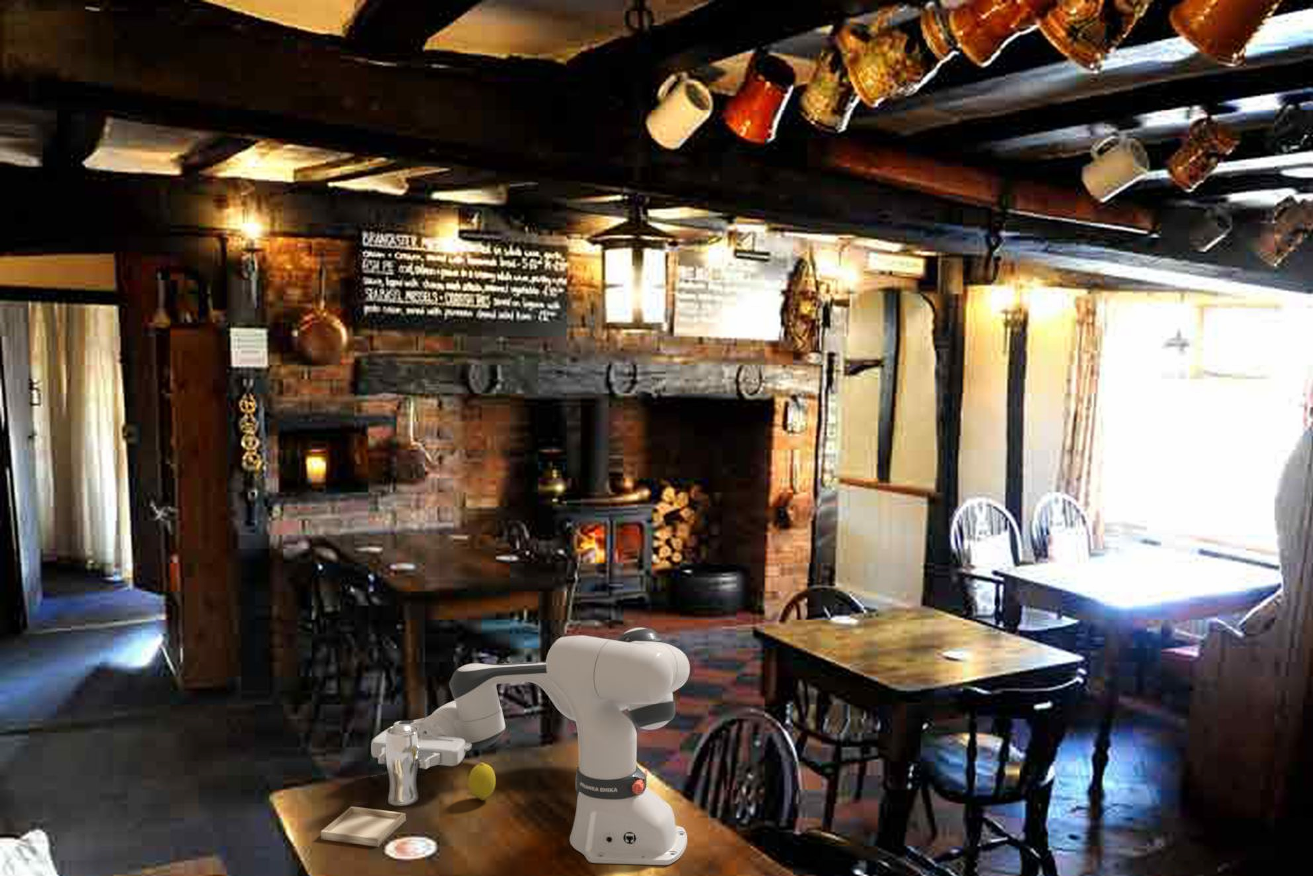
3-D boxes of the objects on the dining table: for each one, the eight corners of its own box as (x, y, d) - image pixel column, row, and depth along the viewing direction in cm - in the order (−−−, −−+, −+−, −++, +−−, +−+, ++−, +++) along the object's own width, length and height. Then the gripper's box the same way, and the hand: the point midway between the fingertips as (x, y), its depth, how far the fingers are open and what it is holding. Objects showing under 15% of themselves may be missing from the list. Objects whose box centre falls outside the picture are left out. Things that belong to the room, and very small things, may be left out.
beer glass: (411, 808, 202) (410, 737, 200) (379, 805, 203) (379, 734, 202) (425, 794, 208) (425, 725, 207) (395, 790, 210) (394, 722, 209)
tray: (405, 820, 196) (405, 813, 196) (377, 846, 186) (377, 839, 185) (351, 813, 199) (351, 806, 199) (320, 839, 188) (320, 831, 188)
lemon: (463, 802, 205) (463, 765, 204) (479, 792, 210) (479, 755, 209) (484, 808, 202) (484, 770, 202) (501, 797, 207) (501, 760, 206)
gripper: (475, 757, 216) (448, 783, 203) (390, 747, 221) (358, 772, 207) (475, 729, 216) (448, 753, 202) (390, 720, 220) (357, 743, 207)
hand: (401, 763), depth 205 cm, fingers open, 8 cm apart
